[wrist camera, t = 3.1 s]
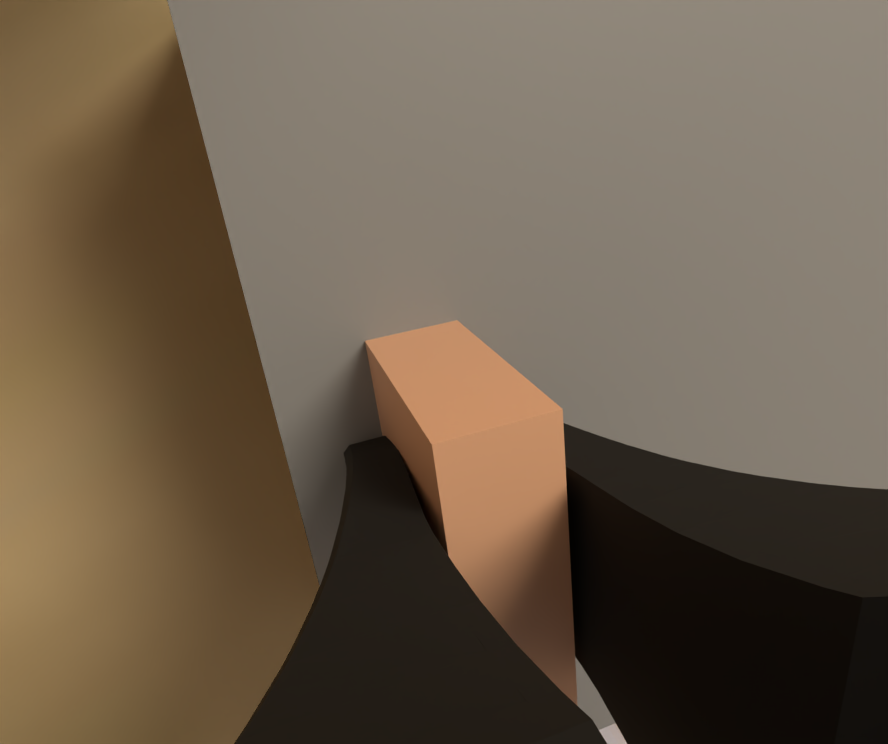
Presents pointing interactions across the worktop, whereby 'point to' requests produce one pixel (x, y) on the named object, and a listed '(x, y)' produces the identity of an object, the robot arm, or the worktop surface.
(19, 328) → the worktop surface
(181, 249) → the worktop surface
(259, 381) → the worktop surface
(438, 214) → the carton lid
